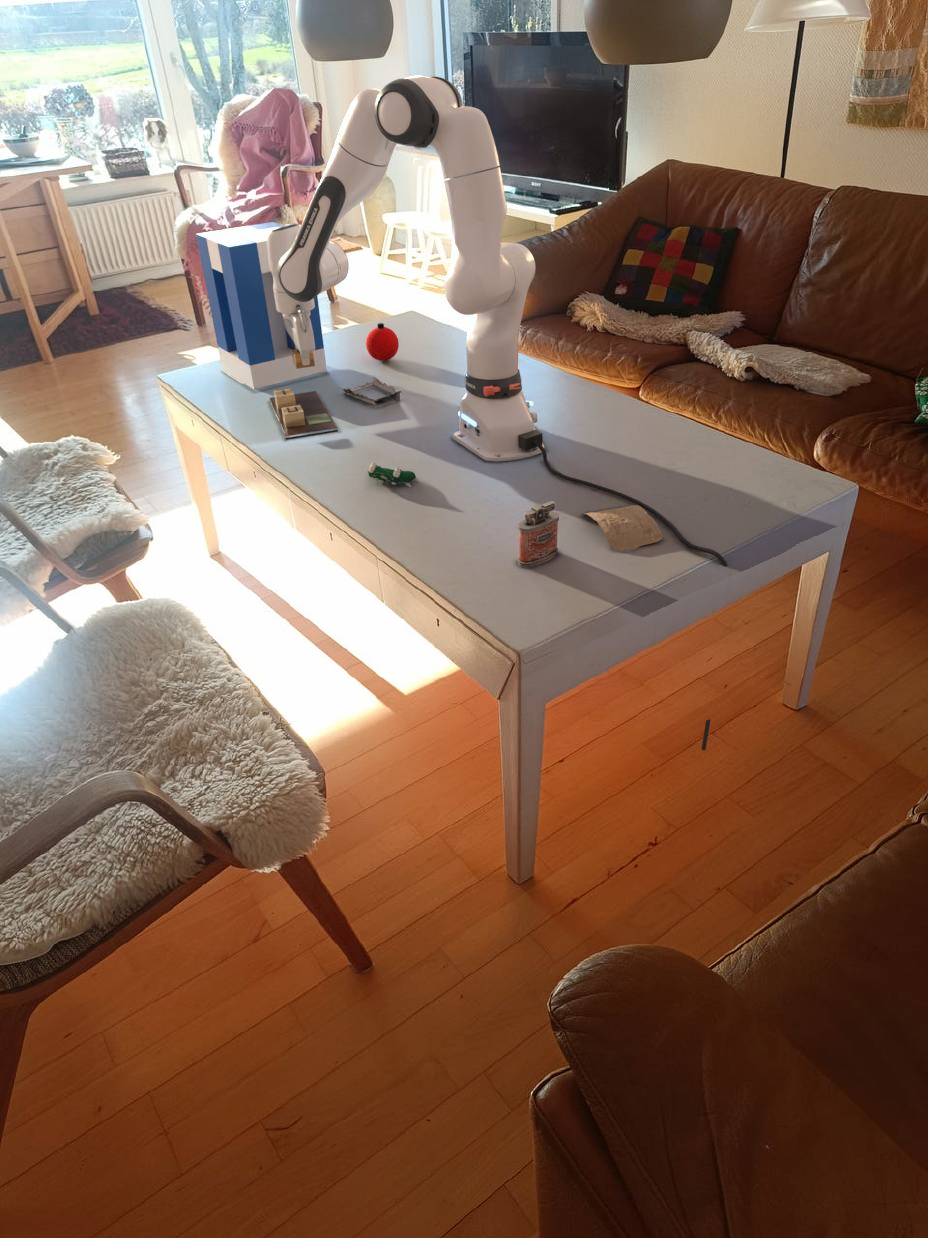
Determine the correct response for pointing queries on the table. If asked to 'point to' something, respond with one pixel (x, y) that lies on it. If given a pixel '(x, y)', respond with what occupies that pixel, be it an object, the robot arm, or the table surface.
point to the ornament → (382, 343)
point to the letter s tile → (297, 359)
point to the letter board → (308, 410)
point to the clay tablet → (627, 527)
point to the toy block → (251, 308)
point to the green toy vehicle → (390, 474)
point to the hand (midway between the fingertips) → (303, 360)
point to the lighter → (538, 535)
